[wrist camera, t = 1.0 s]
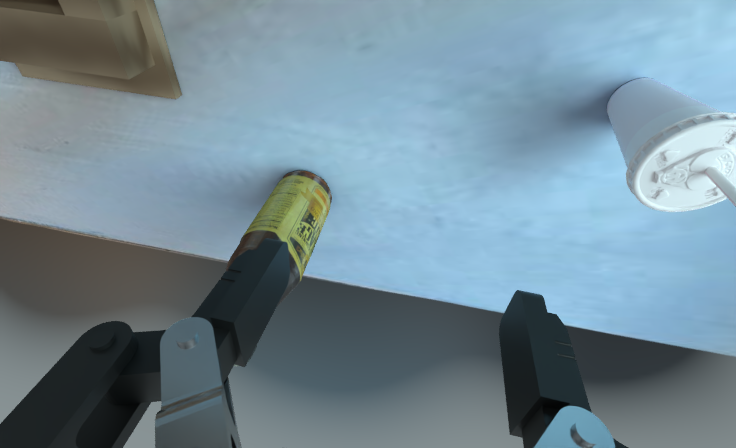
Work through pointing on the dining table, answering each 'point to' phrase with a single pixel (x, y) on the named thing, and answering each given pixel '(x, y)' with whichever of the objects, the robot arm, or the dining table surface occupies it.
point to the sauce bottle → (290, 221)
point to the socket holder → (89, 44)
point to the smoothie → (673, 146)
